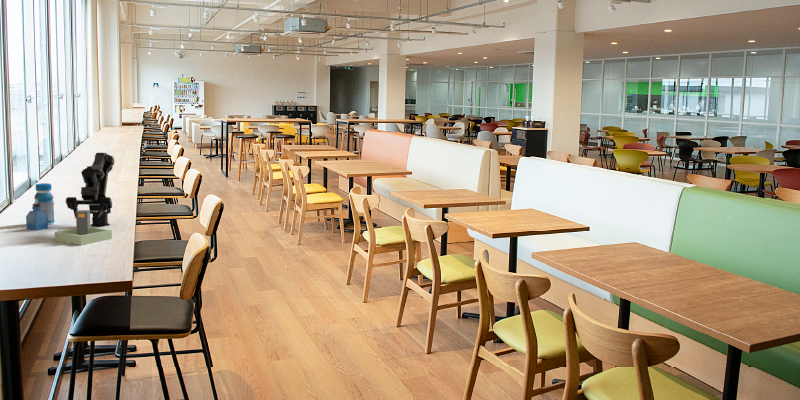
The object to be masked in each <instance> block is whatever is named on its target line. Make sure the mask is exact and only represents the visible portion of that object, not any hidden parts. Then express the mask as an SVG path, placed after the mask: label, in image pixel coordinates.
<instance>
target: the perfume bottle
mask: <svg viewBox="0 0 800 400" xmlns="http://www.w3.org/2000/svg"><path fill="white" fill-rule="evenodd" d="M31 209H32V210H30V211H29V212H28V213H27V215H26V216H25V218H26V219H25V223H26V224H25V226H26V230H29V229H30V231H35V232H36V231H41V230H46V229H49V225H48V218H47V215H46V213H45V212H44V211H41V210H40V209H41V206H40V204H34V203H32V207H31Z"/></svg>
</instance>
